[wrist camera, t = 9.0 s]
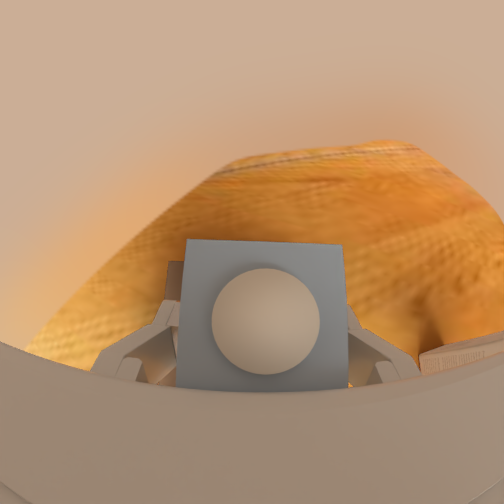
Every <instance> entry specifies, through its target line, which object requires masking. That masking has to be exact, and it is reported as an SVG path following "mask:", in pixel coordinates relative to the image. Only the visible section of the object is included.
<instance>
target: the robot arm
mask: <svg viewBox="0 0 504 504" xmlns="http://www.w3.org/2000/svg"><path fill="white" fill-rule="evenodd" d="M179 313H180V301H176V300H163V301H162V303H161V305H160V308H159V310H158V312H157V314H156V316H155V318H154V320H153V323H152V324H147V325H146V326H144V327H142V328H141V329H139V330H137V331H135V332H134V333H132V334H130V335H128V336H127V337H125V338H123V339H121V340H120V341H118V342H116V343H114V344H113V345H111V346H109V347H107V348H106V349H104V350H102V351H101V352H100V354H99V356H98V358H97V359H96V361H95V363H94V365H93V367H92V368H91V370H90V371H86V370H82V369H78V368H75V367H71V366H68V365H64V364H61V363H57V362H54V361H51V360H48V359H45V358H42V357H39V356H36V355H33V354H30V353H28V352H25V351H22V350H20V349H17V348H14V347H12V346H9V345H7V344H5V343H2V342H0V504H504V350H503V351H501V352H498V353H496V354H493V355H490V356H487V357H485V358H482V359H479V360H476V361H473V362H469V363H466V364H463V365H460V366H456V367H453V368H449V369H445V370H442V371H438V372H434V373H430V374H425V375H422V374H421V372H420V370H419V368H418V367H417V365H416V363H415V361H414V360H413V358H412V356H410V355H408V354H407V353H405V352H403V351H402V350H400V349H398V348H397V347H395V346H393V345H392V344H390V343H388V342H387V341H385V340H384V339H382V338H380V337H379V336H377V335H375V334H374V333H372V332H370V331H369V330H367V329H362V327H361V325H360V323H359V321H358V319H357V318H356V316H355V314H354V312H353V310H352V308H351V306H350V305H348V304H347V317H348V358H349V369H348V382H349V383H350V384H351V385H352V386H353V387H350V388H341V389H330V390H317V391H300V392H228V391H211V390H199V389H188V388H179V387H171V386H163V385H156V384H157V383H158V382H160V381H161V380H162V379H163V378H164V377H165V376H166V375H167V374H168V373H169V372H170V371H171V370H172V369H173V368H174V367H176V363H177V343H178V326H179Z"/></svg>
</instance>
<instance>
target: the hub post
mask: <svg viewBox="0 0 504 504" xmlns="http://www.w3.org/2000/svg"><path fill="white" fill-rule="evenodd" d="M348 369H349V358H348V317H347V298H346V283H345V270H344V259H343V249H342V245H335V244H312V243H288V242H262V241H233V240H202V239H187V243H186V251H185V260H184V269H183V279H182V289H181V300H180V313H179V326H178V343H177V363H176V387H179V388H188V389H199V390H211V391H228V392H300V391H317V390H330V389H341V388H348Z"/></svg>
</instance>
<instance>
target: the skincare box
mask: <svg viewBox="0 0 504 504" xmlns="http://www.w3.org/2000/svg"><path fill="white" fill-rule="evenodd" d="M503 350H504V331H501V332H497V333H494V334H490V335H486V336H482V337H478V338H474V339H470V340H465V341H460V342H456V343H451V344H446V345H443V346H441V347H438V348H435V349H433V350H430V351H427V352H425V353H422V354H420V355H419V362H420V370H421V374H422V375H425V374H430V373H434V372H438V371H442V370H445V369H449V368H453V367H456V366H460V365H463V364H466V363H469V362H473V361H476V360H479V359H482V358H485V357H487V356H490V355H493V354H496V353H498V352H501V351H503Z"/></svg>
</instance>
